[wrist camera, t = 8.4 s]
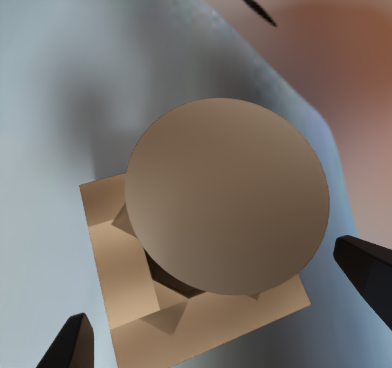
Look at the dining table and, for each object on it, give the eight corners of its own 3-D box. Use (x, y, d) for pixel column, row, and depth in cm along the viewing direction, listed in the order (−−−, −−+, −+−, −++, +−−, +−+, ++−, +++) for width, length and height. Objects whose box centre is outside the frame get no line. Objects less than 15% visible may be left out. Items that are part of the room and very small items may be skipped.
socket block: (280, 296, 18) (311, 304, 14) (132, 359, 16) (122, 388, 12) (227, 165, 21) (240, 142, 17) (96, 201, 19) (79, 185, 15)
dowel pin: (207, 283, 17) (321, 324, 4) (152, 267, 17) (88, 258, 4) (219, 228, 19) (335, 126, 5) (169, 214, 19) (162, 77, 5)
